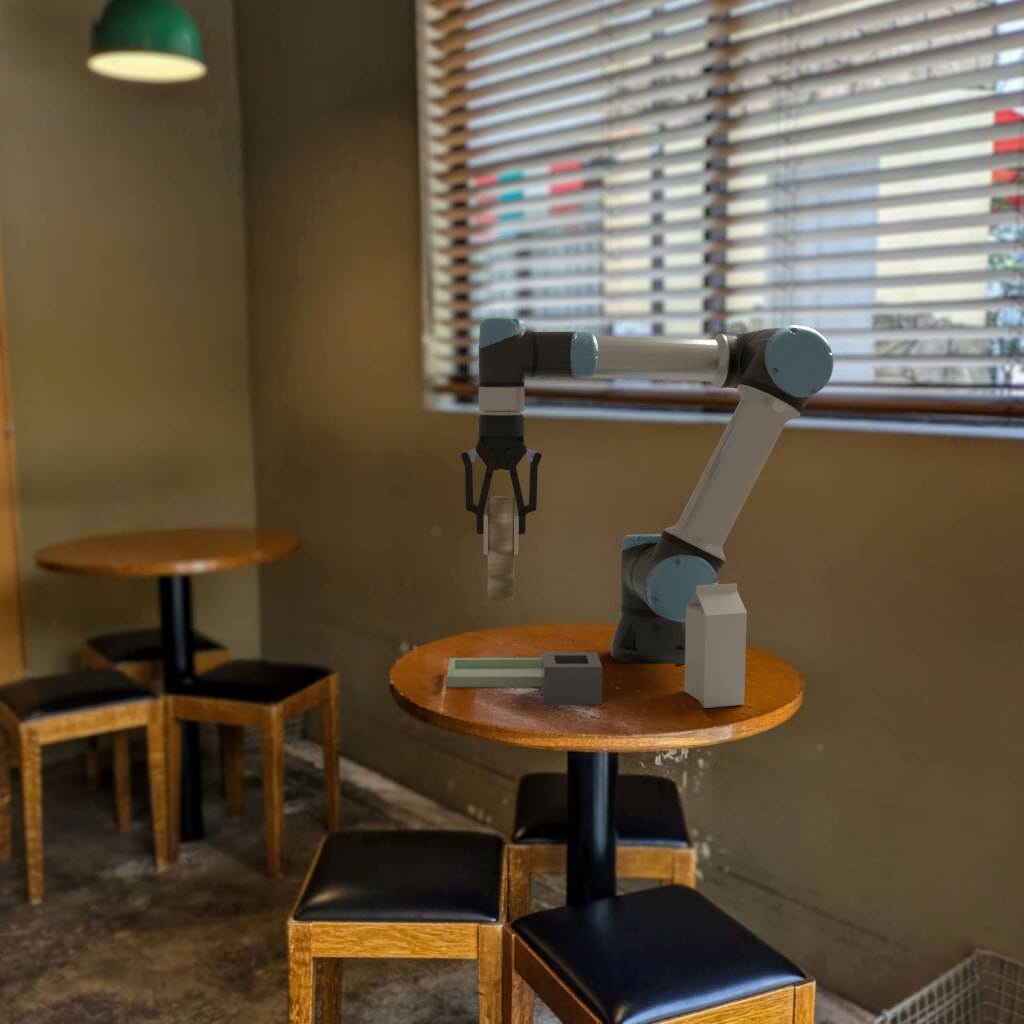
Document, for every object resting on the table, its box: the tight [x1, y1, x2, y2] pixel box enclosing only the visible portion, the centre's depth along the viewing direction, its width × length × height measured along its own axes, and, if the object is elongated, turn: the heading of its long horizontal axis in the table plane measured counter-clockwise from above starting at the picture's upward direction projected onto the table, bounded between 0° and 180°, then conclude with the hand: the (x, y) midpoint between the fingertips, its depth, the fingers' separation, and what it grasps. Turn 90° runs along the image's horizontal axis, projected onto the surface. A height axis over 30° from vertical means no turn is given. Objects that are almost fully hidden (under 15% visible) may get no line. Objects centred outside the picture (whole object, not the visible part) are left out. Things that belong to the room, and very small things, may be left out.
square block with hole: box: [541, 651, 603, 706], centre depth 175 cm, size 9×9×7 cm
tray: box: [446, 657, 542, 688], centre depth 187 cm, size 18×12×3 cm, turn 91°
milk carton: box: [683, 583, 748, 709], centre depth 175 cm, size 7×7×19 cm
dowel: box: [487, 495, 515, 602], centre depth 184 cm, size 4×4×17 cm
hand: (500, 553), depth 184 cm, fingers closed on dowel, 4 cm apart
